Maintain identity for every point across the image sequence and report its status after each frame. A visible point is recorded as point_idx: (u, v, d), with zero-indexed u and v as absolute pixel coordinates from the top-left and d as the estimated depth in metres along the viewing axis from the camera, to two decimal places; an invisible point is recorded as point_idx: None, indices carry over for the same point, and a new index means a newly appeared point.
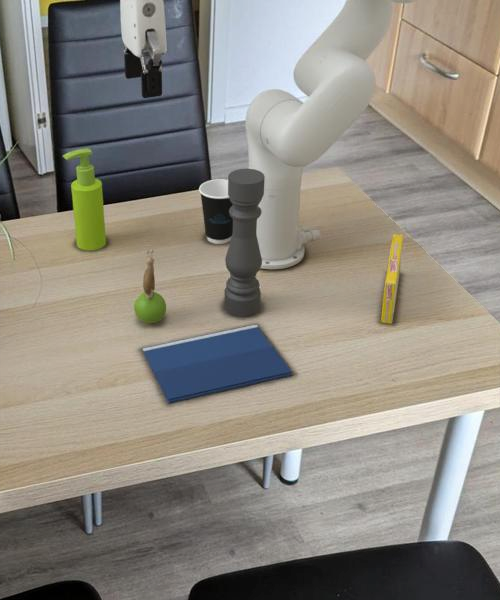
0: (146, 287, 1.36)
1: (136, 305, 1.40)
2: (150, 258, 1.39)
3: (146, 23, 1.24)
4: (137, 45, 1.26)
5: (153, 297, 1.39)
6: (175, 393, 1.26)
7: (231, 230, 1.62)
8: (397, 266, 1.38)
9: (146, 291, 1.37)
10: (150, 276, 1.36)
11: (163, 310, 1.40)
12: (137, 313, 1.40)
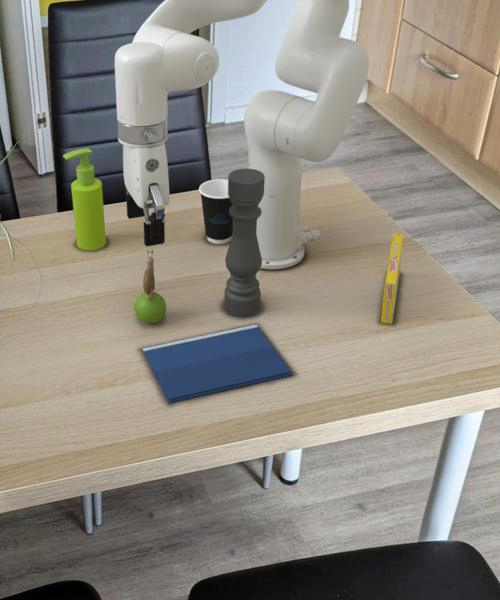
0: (146, 287, 1.36)
1: (136, 305, 1.40)
2: (150, 258, 1.39)
3: (149, 178, 1.23)
4: (140, 198, 1.25)
5: (153, 297, 1.39)
6: (175, 393, 1.26)
7: (231, 230, 1.62)
8: (397, 266, 1.38)
9: (146, 291, 1.37)
10: (150, 276, 1.36)
11: (163, 310, 1.40)
12: (137, 313, 1.40)
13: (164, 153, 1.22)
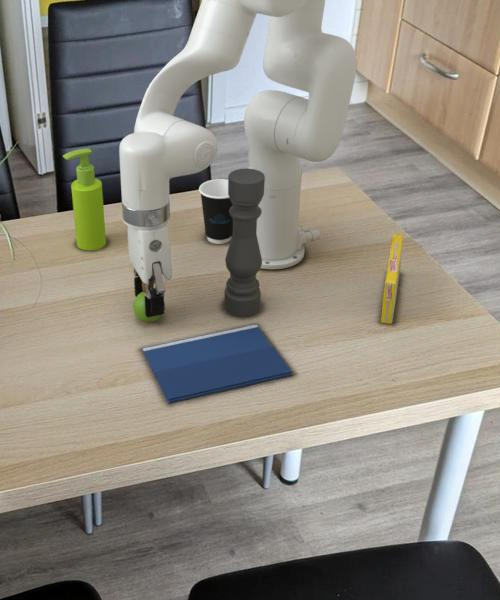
0: (144, 286, 1.37)
1: (135, 303, 1.40)
2: None
3: (153, 257, 1.31)
4: (144, 275, 1.32)
5: None
6: (175, 393, 1.26)
7: (231, 230, 1.62)
8: (397, 266, 1.38)
9: (144, 290, 1.37)
10: None
11: None
12: (136, 312, 1.41)
13: (166, 234, 1.30)
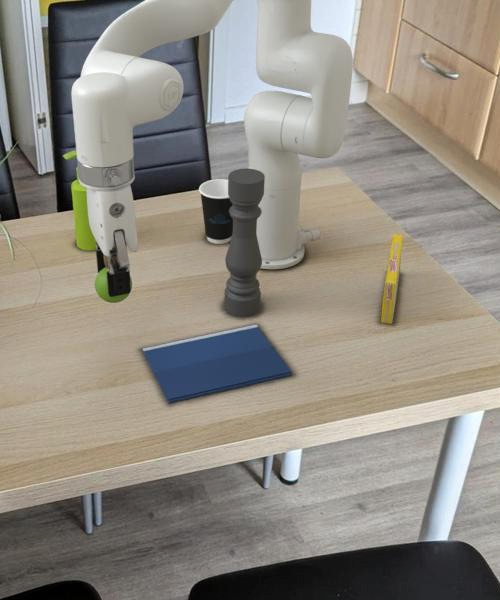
0: (106, 260, 1.15)
1: (97, 281, 1.19)
2: None
3: (114, 224, 1.10)
4: (104, 245, 1.11)
5: None
6: (175, 393, 1.26)
7: (231, 230, 1.62)
8: (397, 266, 1.38)
9: (106, 265, 1.16)
10: None
11: None
12: (97, 290, 1.20)
13: (130, 196, 1.09)
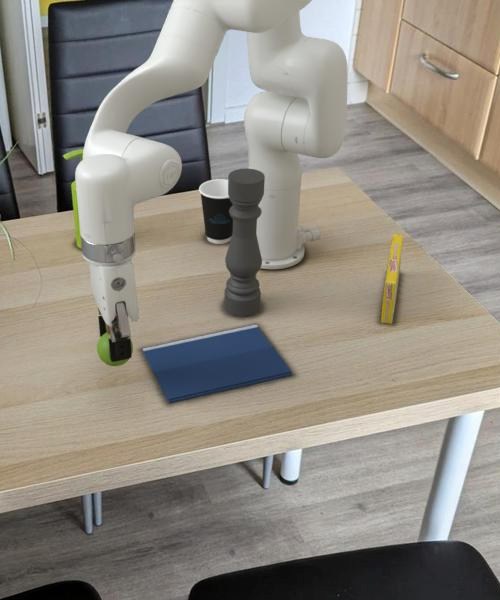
0: (108, 327, 1.20)
1: (99, 346, 1.24)
2: None
3: (116, 296, 1.15)
4: (106, 316, 1.16)
5: None
6: (175, 393, 1.26)
7: (231, 230, 1.62)
8: (397, 266, 1.38)
9: (108, 332, 1.21)
10: None
11: None
12: (99, 355, 1.25)
13: (131, 271, 1.14)
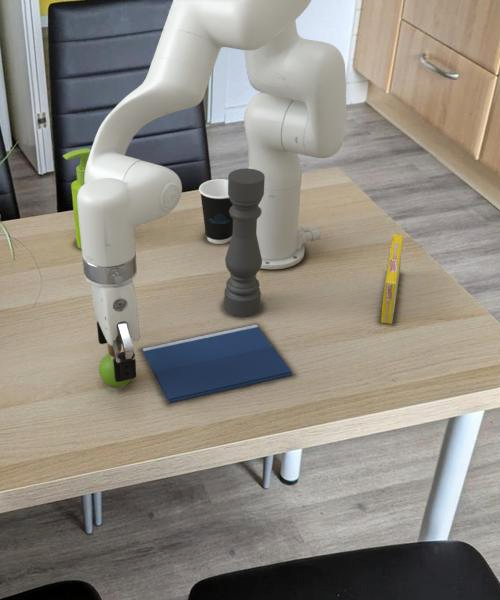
0: (110, 349, 1.23)
1: (101, 367, 1.27)
2: None
3: (117, 317, 1.16)
4: (108, 336, 1.18)
5: None
6: (175, 393, 1.26)
7: (231, 230, 1.62)
8: (397, 266, 1.38)
9: (110, 353, 1.24)
10: None
11: None
12: (102, 376, 1.27)
13: (132, 292, 1.16)
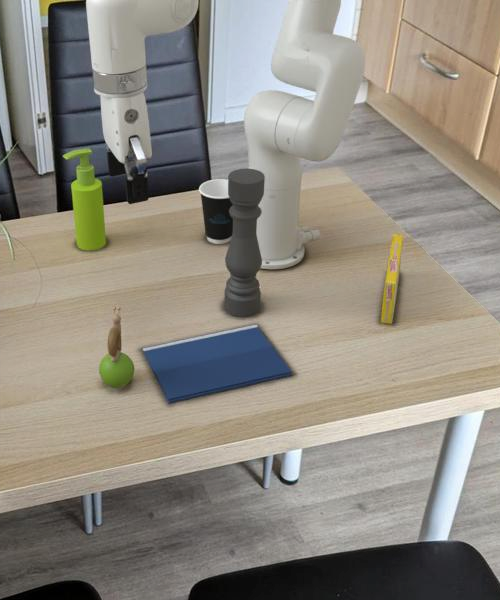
0: (110, 349, 1.23)
1: (101, 367, 1.27)
2: (117, 316, 1.26)
3: (129, 130, 1.15)
4: (120, 152, 1.17)
5: (119, 359, 1.26)
6: (175, 393, 1.26)
7: (231, 230, 1.62)
8: (397, 266, 1.38)
9: (110, 353, 1.24)
10: (115, 337, 1.23)
11: (130, 373, 1.26)
12: (102, 376, 1.27)
13: (144, 102, 1.15)
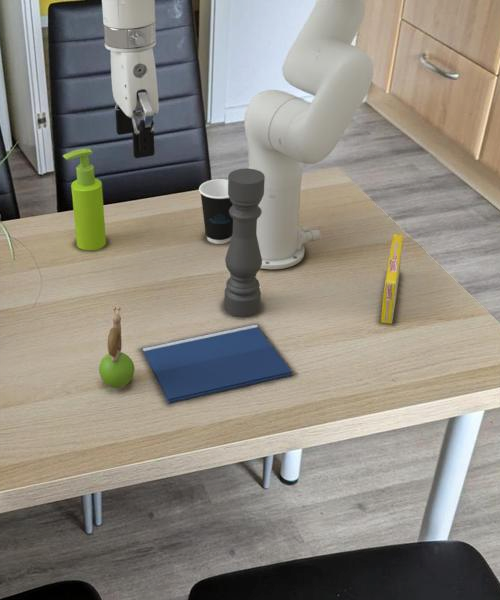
0: (110, 349, 1.23)
1: (101, 367, 1.27)
2: (117, 316, 1.26)
3: (137, 84, 1.20)
4: (128, 106, 1.22)
5: (119, 359, 1.26)
6: (175, 393, 1.26)
7: (231, 230, 1.62)
8: (397, 266, 1.38)
9: (110, 353, 1.24)
10: (115, 337, 1.23)
11: (130, 373, 1.26)
12: (102, 376, 1.27)
13: (152, 58, 1.19)
